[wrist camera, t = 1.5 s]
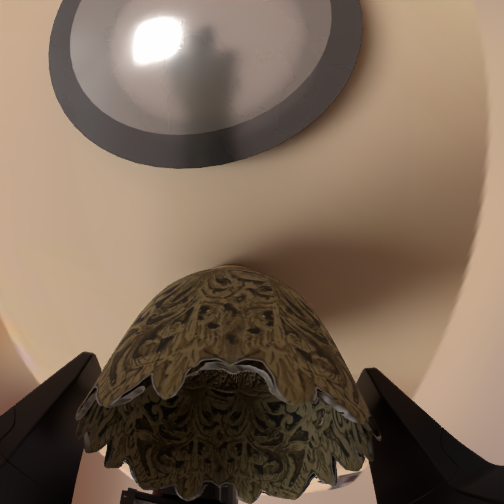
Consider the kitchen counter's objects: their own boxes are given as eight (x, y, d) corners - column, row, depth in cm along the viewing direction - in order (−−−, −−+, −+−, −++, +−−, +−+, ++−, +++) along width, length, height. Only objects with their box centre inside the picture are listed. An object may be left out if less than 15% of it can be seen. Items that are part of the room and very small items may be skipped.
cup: (339, 229, 11) (448, 394, 4) (295, 359, 14) (319, 502, 7) (149, 201, 10) (19, 355, 3) (152, 342, 14) (112, 486, 6)
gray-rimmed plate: (336, 175, 10) (347, 182, 9) (60, 166, 9) (42, 173, 8) (350, -59, 5) (360, -73, 4) (92, -54, 5) (80, -64, 3)
